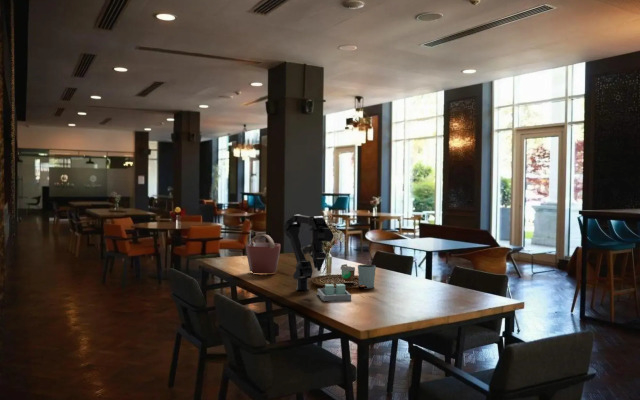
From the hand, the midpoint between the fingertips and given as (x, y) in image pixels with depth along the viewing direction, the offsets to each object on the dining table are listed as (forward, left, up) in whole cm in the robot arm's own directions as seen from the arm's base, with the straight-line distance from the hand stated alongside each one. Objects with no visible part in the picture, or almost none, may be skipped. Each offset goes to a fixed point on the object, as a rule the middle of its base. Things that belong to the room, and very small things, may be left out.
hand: (317, 269), depth 269 cm
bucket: (-68, -23, -13) cm, 73 cm away
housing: (+10, +7, -13) cm, 18 cm away
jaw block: (+10, +5, -12) cm, 17 cm away
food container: (-27, +22, -13) cm, 37 cm away
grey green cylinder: (-14, +31, -13) cm, 36 cm away
